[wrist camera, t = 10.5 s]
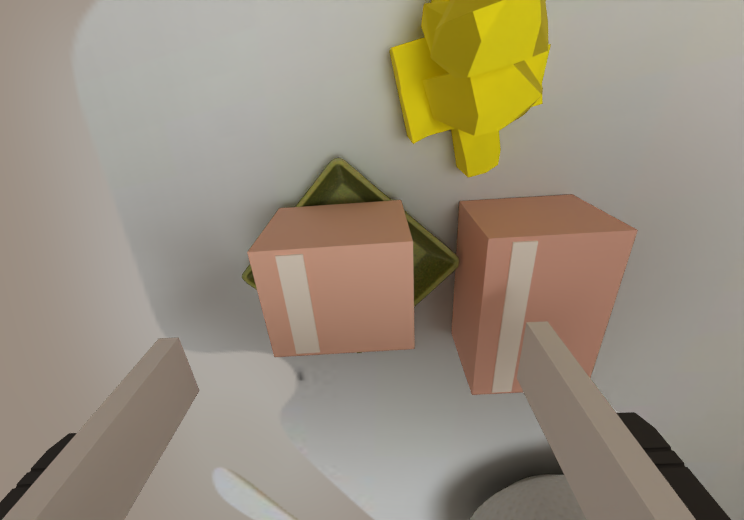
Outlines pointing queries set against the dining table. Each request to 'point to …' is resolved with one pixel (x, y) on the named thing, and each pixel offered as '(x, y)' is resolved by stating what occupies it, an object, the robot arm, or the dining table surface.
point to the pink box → (336, 279)
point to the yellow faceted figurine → (472, 74)
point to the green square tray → (352, 187)
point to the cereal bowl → (532, 501)
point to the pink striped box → (533, 281)
